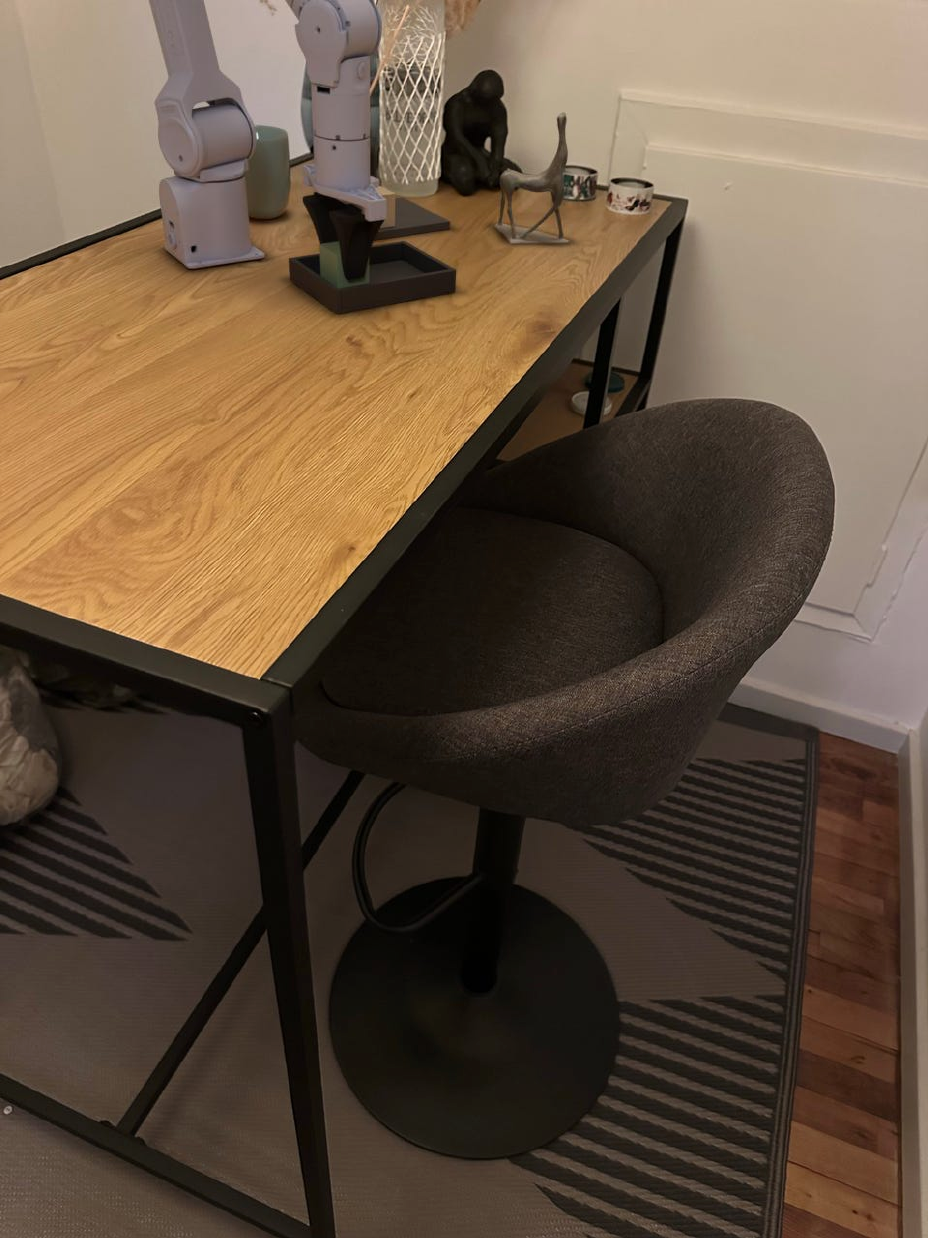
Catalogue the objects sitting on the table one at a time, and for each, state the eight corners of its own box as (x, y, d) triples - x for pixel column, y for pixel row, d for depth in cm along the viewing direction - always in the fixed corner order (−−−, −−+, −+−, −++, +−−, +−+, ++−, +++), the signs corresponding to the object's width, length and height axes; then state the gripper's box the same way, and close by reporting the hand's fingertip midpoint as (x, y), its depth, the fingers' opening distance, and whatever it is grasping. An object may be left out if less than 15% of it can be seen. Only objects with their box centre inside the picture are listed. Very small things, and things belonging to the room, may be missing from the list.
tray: (337, 314, 96) (336, 290, 94) (289, 280, 103) (288, 257, 101) (455, 292, 103) (456, 269, 101) (403, 261, 110) (404, 240, 108)
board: (358, 242, 114) (357, 234, 113) (313, 216, 121) (313, 208, 121) (450, 228, 121) (450, 221, 120) (402, 204, 128) (402, 197, 127)
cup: (222, 218, 118) (213, 133, 112) (250, 203, 124) (243, 121, 118) (276, 227, 117) (270, 141, 110) (302, 211, 123) (298, 129, 116)
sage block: (337, 292, 98) (336, 254, 96) (320, 280, 101) (318, 243, 98) (369, 286, 100) (369, 249, 98) (351, 275, 103) (351, 238, 100)
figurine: (475, 233, 120) (483, 105, 110) (500, 223, 124) (511, 99, 114) (547, 253, 115) (562, 121, 106) (571, 241, 120) (587, 113, 110)
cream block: (368, 230, 115) (368, 196, 113) (352, 221, 118) (352, 188, 115) (395, 226, 117) (395, 193, 114) (379, 217, 119) (379, 185, 117)
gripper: (413, 148, 88) (410, 287, 97) (342, 116, 97) (344, 246, 106) (350, 154, 85) (352, 297, 94) (282, 120, 94) (290, 254, 103)
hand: (344, 270), depth 100 cm, fingers closed on sage block, 4 cm apart
